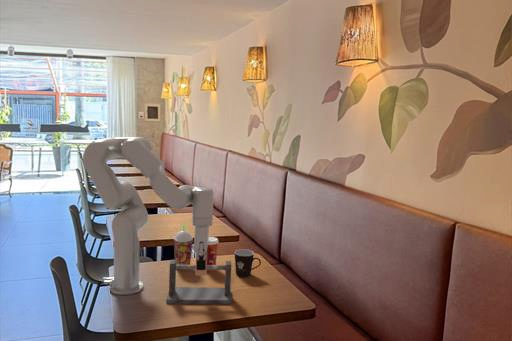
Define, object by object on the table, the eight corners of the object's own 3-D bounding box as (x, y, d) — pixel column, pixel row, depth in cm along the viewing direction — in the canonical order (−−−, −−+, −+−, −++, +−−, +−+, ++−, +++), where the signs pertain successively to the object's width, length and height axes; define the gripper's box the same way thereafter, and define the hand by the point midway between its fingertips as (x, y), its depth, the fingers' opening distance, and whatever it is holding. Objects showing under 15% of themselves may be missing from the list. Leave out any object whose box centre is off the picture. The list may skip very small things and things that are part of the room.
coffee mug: (229, 273, 190) (230, 251, 189) (244, 269, 196) (245, 248, 194) (246, 282, 182) (247, 259, 180) (261, 277, 187) (262, 255, 186)
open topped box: (195, 275, 161) (196, 256, 160) (196, 269, 166) (196, 251, 165) (206, 275, 161) (206, 256, 160) (206, 270, 167) (207, 251, 165)
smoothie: (173, 264, 197) (174, 221, 194) (191, 263, 199) (192, 222, 196) (173, 271, 189) (174, 227, 186) (192, 270, 191) (193, 227, 188)
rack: (166, 303, 159) (167, 267, 157) (169, 290, 170) (170, 256, 167) (231, 303, 161) (233, 268, 159) (230, 291, 172) (232, 257, 170)
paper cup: (214, 273, 190) (215, 242, 187) (198, 270, 191) (199, 240, 189) (219, 266, 197) (221, 237, 195) (203, 264, 199) (204, 235, 197)
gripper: (193, 214, 169) (192, 258, 171) (190, 226, 152) (189, 275, 155) (212, 215, 169) (211, 258, 172) (212, 227, 153) (210, 275, 155)
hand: (201, 266), depth 163 cm, fingers closed on open topped box, 5 cm apart
